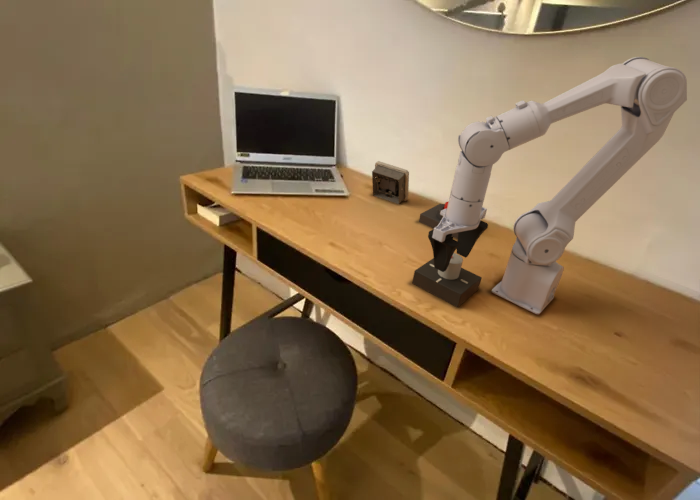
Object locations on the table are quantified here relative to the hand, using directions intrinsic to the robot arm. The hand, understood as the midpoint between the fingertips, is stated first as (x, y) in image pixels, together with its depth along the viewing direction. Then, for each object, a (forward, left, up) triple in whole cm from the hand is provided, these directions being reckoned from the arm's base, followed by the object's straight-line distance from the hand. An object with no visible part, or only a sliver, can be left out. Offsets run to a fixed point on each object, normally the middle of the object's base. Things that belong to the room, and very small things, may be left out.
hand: (451, 261), depth 87 cm
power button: (+13, -23, -2) cm, 26 cm away
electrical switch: (+31, -23, -6) cm, 39 cm away
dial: (0, 0, -3) cm, 3 cm away
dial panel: (0, 0, -6) cm, 6 cm away
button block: (+13, -23, -6) cm, 27 cm away
